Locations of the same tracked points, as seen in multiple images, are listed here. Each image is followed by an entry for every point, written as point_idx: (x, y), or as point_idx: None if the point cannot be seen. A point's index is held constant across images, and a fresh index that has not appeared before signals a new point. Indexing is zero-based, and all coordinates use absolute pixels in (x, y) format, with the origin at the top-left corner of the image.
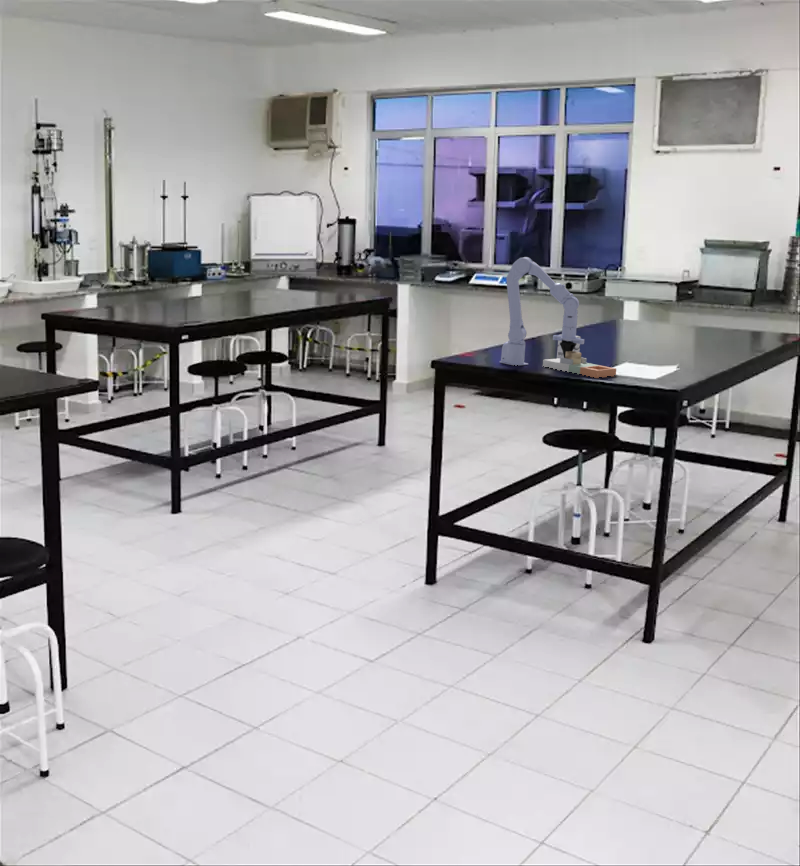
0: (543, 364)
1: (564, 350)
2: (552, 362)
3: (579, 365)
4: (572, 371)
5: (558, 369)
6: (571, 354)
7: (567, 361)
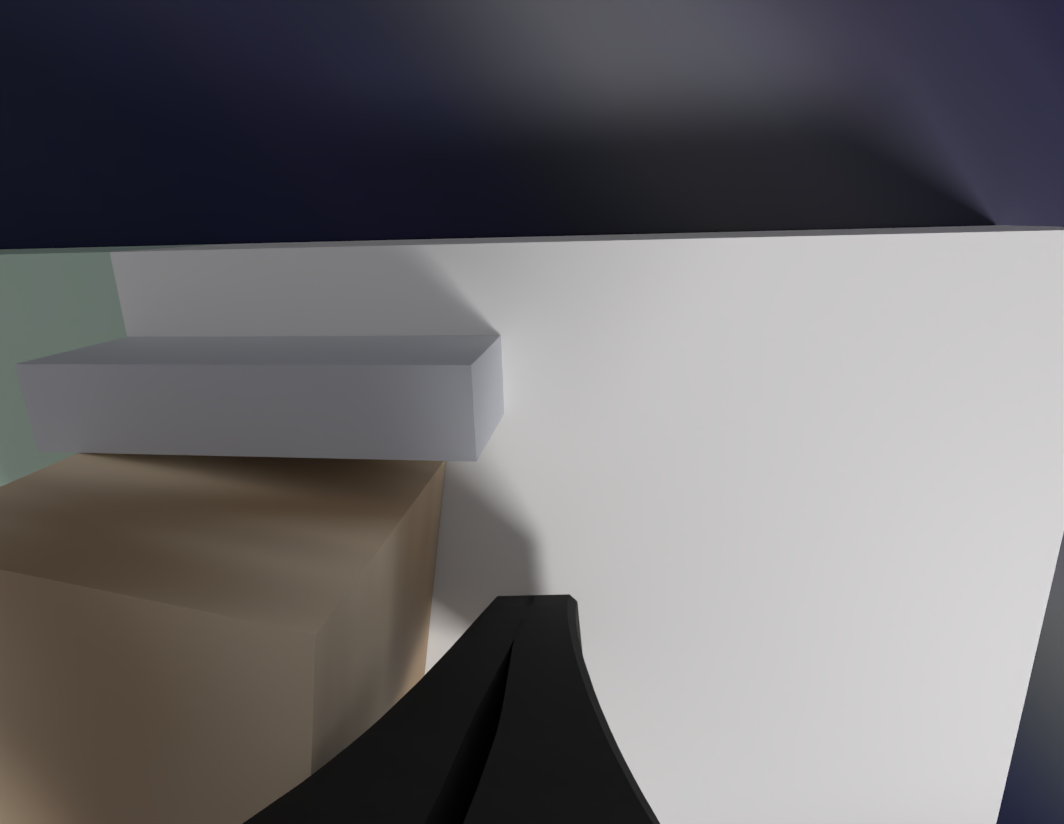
0: (1012, 226)
1: (502, 762)
2: (703, 238)
3: (3, 447)
4: (101, 248)
5: (487, 238)
6: (8, 532)
7: (205, 346)
